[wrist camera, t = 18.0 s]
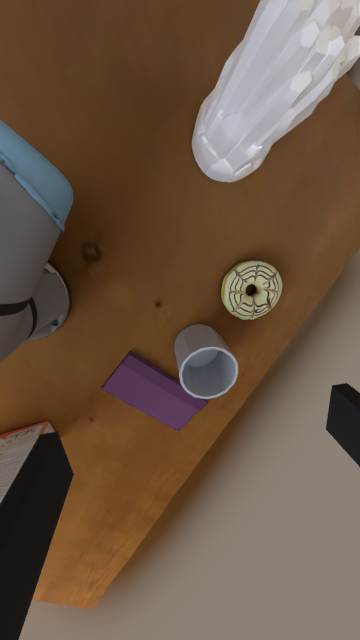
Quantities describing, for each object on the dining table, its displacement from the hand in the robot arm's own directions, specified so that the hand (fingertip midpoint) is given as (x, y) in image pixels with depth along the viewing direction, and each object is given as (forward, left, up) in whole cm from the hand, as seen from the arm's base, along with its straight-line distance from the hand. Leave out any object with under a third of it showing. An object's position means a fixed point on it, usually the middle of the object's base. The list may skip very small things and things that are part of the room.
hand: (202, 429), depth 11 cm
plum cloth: (-5, -22, -33) cm, 40 cm away
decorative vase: (+12, +21, -33) cm, 41 cm away
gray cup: (+5, -12, -33) cm, 35 cm away
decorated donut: (+15, -2, -33) cm, 36 cm away
